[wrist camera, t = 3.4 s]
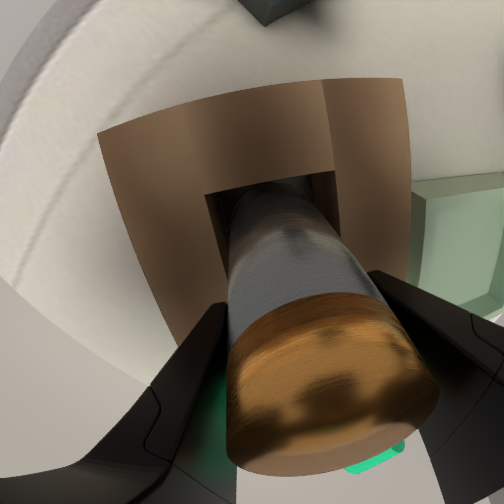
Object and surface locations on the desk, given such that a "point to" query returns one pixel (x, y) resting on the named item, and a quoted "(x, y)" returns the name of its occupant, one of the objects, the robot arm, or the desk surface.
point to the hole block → (260, 178)
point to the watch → (271, 8)
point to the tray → (459, 241)
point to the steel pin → (311, 346)
